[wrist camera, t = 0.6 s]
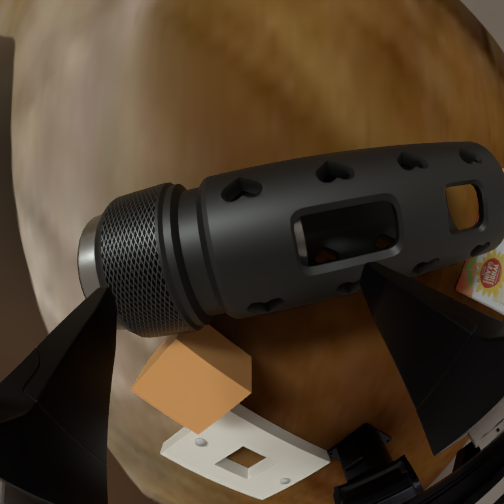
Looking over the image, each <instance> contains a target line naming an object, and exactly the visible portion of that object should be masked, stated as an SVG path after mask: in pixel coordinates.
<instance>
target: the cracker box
mask: <svg viewBox="0 0 504 504" xmlns="http://www.w3.org/2000/svg"><path fill="white" fill-rule="evenodd" d="M502 170H503V172H504V168H502ZM478 218H479V215H478ZM477 221H478V219H477ZM455 290H456V291H458V292H460V293H462V294H464V295H466V296H468V297H470V298H472V299H474V300H476V301H478V302H480V303H482V304H483V305H485V306H487V307H489V308H491V309H493V310H495V311H497V312H499V313H500V314H502V315H504V239H503V241H502V243H501V244H500V245H499V246H498V247H497V248H496V249H494V250H492V251H490V252H487V253H485V254H482V255H479V256H476V257H473V258H470V259H468V260H465V263H464V266H463V269H462V272H461V275H460V278H459V280H458V283H457V286H456V289H455Z"/></svg>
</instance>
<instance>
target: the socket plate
mask: <svg viewBox="0 0 504 504" xmlns="http://www.w3.org/2000/svg"><path fill="white" fill-rule="evenodd" d="M242 446H244V447H246V448H248V449H250V450H252V451H254V452H256V453H258V454H260V455H262V456H265V457H267V458H265V459H263V460H262V461H260V462H258V463H257V464H255V465H253V466H252V467H250V468H247V467H244V466H242V465H240V464H238V463H236V462H234V461H231V460H229V459H227V458H225V457H227V456H228V455H230V454H232V453H233V452H235V451H236V450H238V449H239V448H241V447H242ZM160 454H161V455H163V456H165V457H167V458H168V459H170V460H172V461H174V462H176V463H178V464H179V465H181V466H183V467H185V468H187V469H189V470H191V471H193V472H195V473H197V474H199V475H201V476H204V477H206V478H208V479H210V480H212V481H215V482H217V483H219V484H221V485H224V486H226V487H229V488H231V489H234V490H236V491H239V492H241V493H244V494H247V495H250V496H252V497H255V498H258V499H261V500H263V499H265V498H267V497H269V496H271V495H273V494H275V493H277V492H279V491H281V490H283V489H285V488H287V487H289V486H291V485H293V484H295V483H296V482H298V481H300V480H302V479H304V478H305V477H307V476H309V475H311V474H312V473H314V472H316V471H317V470H319V469H320V468H322V467H324V466H325V465H327V464H328V463H330V459H329V455H328V454H327V451H326V450H324V449H322V448H320V447H318V446H315V445H313V444H311V443H309V442H307V441H305V440H303V439H301V438H299V437H297V436H295V435H293V434H292V433H290V432H288V431H286V430H284V429H282V428H280V427H278V426H277V425H275V424H273V423H271V422H269V421H268V420H266V419H264V418H262V417H261V416H259V415H257V414H256V413H254V412H252V411H251V410H249V409H247V408H246V407H244V406H242V405H241V404H237V405H236V406H235V407H234V408H232V409H231V410H230V411H229V412H227V413H226V414H225V415H224V416H222V417H221V418H220V419H218V420H217V421H216V422H215V423H213V424H212V425H211V426H209V427H208V428H207V429H205V430H204V431H203V432H201V433H200V434H199V435H198V434H196V433H195V432H193V431H191V430H189V429H188V428H186V427H183V428H182V429H181V430H180V431H178V432H177V433H176V434H174V435H173V436H172V437H170V438H169V439H168V440H166V441H165V442H164V443H163V446H162V449H161V452H160Z"/></svg>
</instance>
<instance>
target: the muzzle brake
mask: <svg viewBox="0 0 504 504" xmlns="http://www.w3.org/2000/svg"><path fill="white" fill-rule="evenodd" d="M467 163H468V164H467ZM465 184H471V185H472V186H474V188H475V190H476V192H477V198H478V203H479V218H478V221H477V223H476V224H475V225H474V226H473V227H470V228H467V229H463V230H458V229H457V227H456V226H455V224H454V222H453V221H452V218H451V216H450V214H449V210H448V207H447V200H446V192H445V190H446V188H448V187H452V186H458V185H465ZM379 237H380V238H382V239H384V240H386V241H388V242H389V243H391V244H392V246H387V247H386V248H384V249H379V248H378V247H376V245H375V244H376V242H377V241H378V239H379ZM503 239H504V172H503V170H502V168H501V166H500V164H499V163H498V161H497V160H496V159H495V157H494V156H493V155H492V154H491V153H490V152H489V151H488V150H487V149H486V148H485V147H483V146H481V145H479V144H477V143H474V142H441V143H423V144H408V145H396V146H386V147H376V148H367V149H358V150H350V151H343V152H336V153H329V154H322V155H315V156H309V157H303V158H297V159H291V160H286V161H280V162H275V163H270V164H265V165H260V166H255V167H250V168H245V169H240V170H236V171H231V172H227V173H222V174H218V175H214V176H210V177H207V178H205V179H204V180H203V181H202V183H201V185H200V186H199V188H195V189H190V190H186V189H185V187H184V186H182V185H181V184H177V185H174V184H172V183H164V184H160V185H157V186H153V187H150V188H146V189H143V190H140V191H137V192H133V193H130V194H127V195H124V196H121V197H118V198H116V199H115V200H113V201H112V202H111V203H110V204H109V205H108V206H107V208H106V209H105V211H104V212H103V214H102V215H99V216H96V217H94V218H93V219H91V220H90V221H89V222H88V223H87V225H86V226H85V228H84V229H83V232H82V234H81V237H80V240H79V246H78V259H77V264H78V274H79V280H80V284H81V288H82V291H83V293H84V296H85V298H87V297H88V296H89V295H90V294H92V293H93V292H94V291H95V290H96V289H97V288H98V287H110V288H111V290H112V293H113V296H114V299H115V302H116V305H117V330H124V329H127V330H128V331H130V332H133V333H135V334H137V335H139V336H141V337H148V338H151V337H159V336H166V335H173V334H180V333H187V332H194V331H198V330H200V329H202V328H203V327H204V326H205V325H208V324H210V323H211V321H212V319H213V316H214V315H218V314H223V313H226V314H228V315H229V316H231V317H232V318H236V319H241V318H246V317H252V316H257V315H262V314H267V313H272V312H276V311H281V310H286V309H290V308H295V307H300V306H304V305H308V304H313V303H317V302H321V301H325V300H330V299H334V298H338V297H342V296H346V295H350V294H354V293H358V292H361V291H362V290H361V287H360V278H361V274H362V271H363V267H364V265H365V263H367V262H377V263H380V264H382V265H384V266H386V267H388V268H390V269H392V270H395V271H397V272H399V273H401V274H403V275H405V276H407V277H409V278H411V277H415V276H418V275H421V274H425V273H428V272H431V271H434V270H437V269H440V268H444V267H447V266H450V265H453V264H456V263H459V262H462V261H465V260H468V259H470V258H473V257H476V256H479V255H482V254H485V253H487V252H490V251H492V250H494V249H496V248H497V247H498V246H499V245H500V244H501V243H502V241H503ZM322 249H323V250H325V251H326V252H328V253H330V254H332V255H334V256H336V260H329V259H327V260H326V261H325V262H324V263H318V262H316V261H315V258H316V257H317V256H318V254H319V253H320V252H321V250H322Z"/></svg>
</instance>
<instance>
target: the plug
mask: <svg viewBox="0 0 504 504" xmlns="http://www.w3.org/2000/svg"><path fill="white" fill-rule="evenodd" d="M131 390H132V391H133V392H134V393H136V394H137V395H138V396H140V397H141V398H142V399H144V400H145V401H147V402H148V403H149V404H151V405H152V406H154V407H155V408H157V409H158V410H160V411H161V412H163V413H164V414H166V415H167V416H169V417H170V418H172V419H173V420H175V421H176V422H178V423H180V424H181V425H183V426H184V427H186V428H188V429H189V430H191V431H193V432H195V433H196V434H198V435H199V434H200V433H201V432H203V431H204V430H205V429H207V428H208V427H209V426H211V425H212V424H213V423H215V422H216V421H217V420H218V419H220V418H221V417H222V416H224V415H225V414H226V413H227V412H229V411H230V410H231V409H232V408H234V407H235V406H236V405H237V404H239V403H240V402H241V401H242V400H244V399H245V398H246V397H247V396H248V395H250V394H251V393H252V357H251V356H250V355H248V354H247V353H246V352H244V351H243V350H242V349H240V348H239V347H238V346H236V345H235V344H234V343H232V342H231V341H230V340H228V339H227V338H226V337H224V336H223V335H222V334H220V333H219V332H218V331H216V330H215V329H214V328H213V327H211V326H210V325H209V324H208V325H205V326H204V327H203V328H202V329H200V330H198V331H194V332H187V333H180V334H173V335H169V336H168V337H167V338H166V339H165V341H164V342H163V343H162V344H161V345H160V346H159V348H158V349H157V350H156V351H155V352H154V353H153V354H152V356H151V357H150V358H149V360H148V361H147V363H146V365H145V366H144V368H143V370H142V371H141V373H140V375H139V376H138V378H137V380H136V381H135V383H134V385H133V386H132V388H131Z"/></svg>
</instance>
